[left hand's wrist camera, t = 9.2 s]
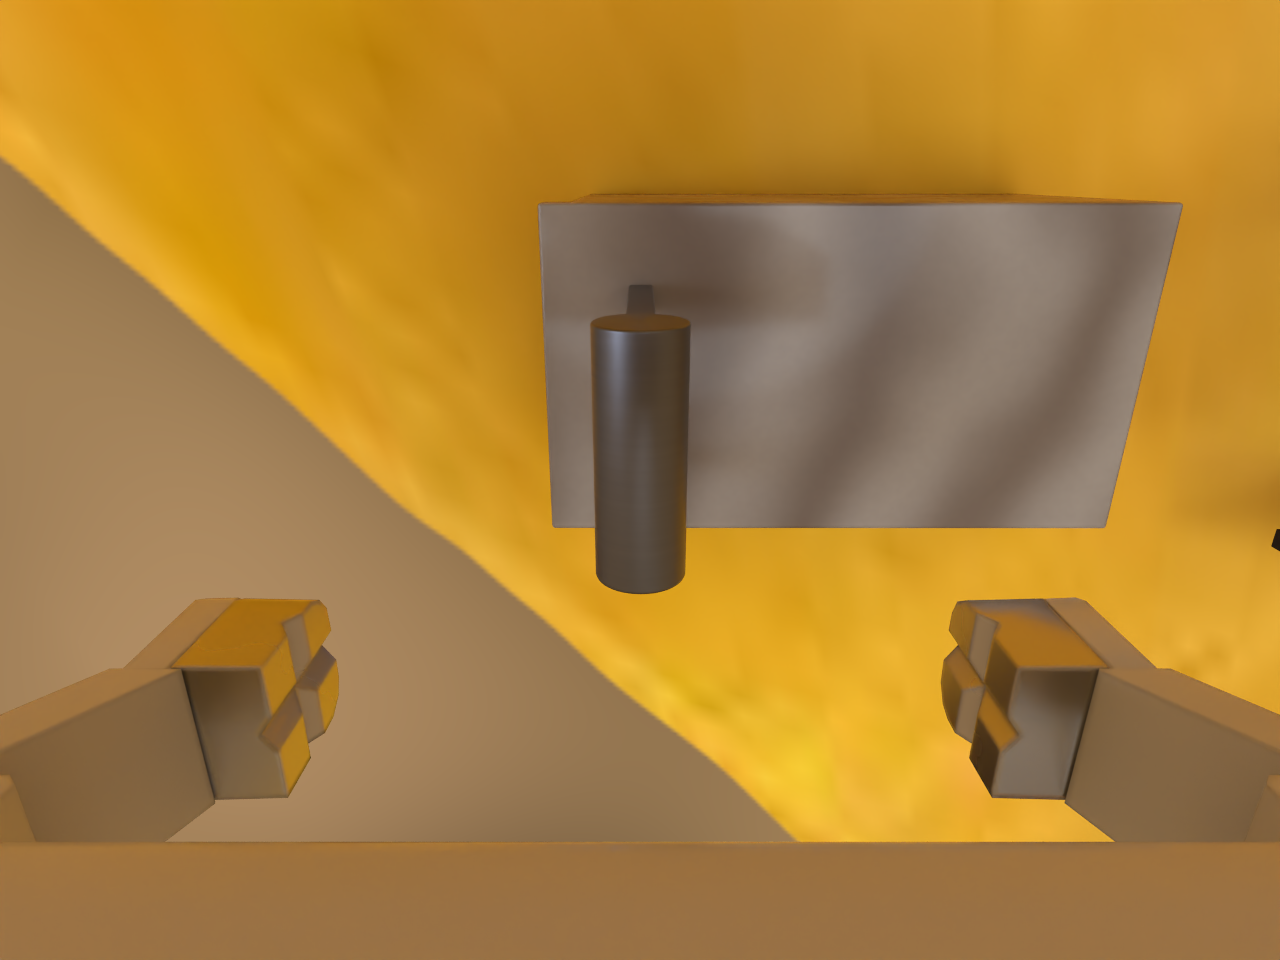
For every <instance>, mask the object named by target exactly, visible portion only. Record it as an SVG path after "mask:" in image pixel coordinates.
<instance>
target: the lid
mask: <svg viewBox="0 0 1280 960" xmlns="http://www.w3.org/2000/svg"><path fill="white" fill-rule="evenodd" d="M1182 207H1183V205H1182V204H1181V203H1177V202H542V203H540V204H538V222H539V244H540V266H541V287H542V309H543V331H544V353H545V375H546V396H547V418H548V440H549V462H550V483H551V505H552V525H553V527H555V528H595V548H596V575H597V577H598V579H599V580H600V581H601V583H603V584H604V585H605V586H607V587H609V588H611V589H613V590H616V591H620V592H624V593H631V594H650V593H657V592H661V591H665V590H668V589H670V588H672V587H674V586H676V585H677V584H679V583H680V582H681V581H682V579H683V577H684V575H685V555H686V528H1105V526H1106V523H1107V518H1108V514H1109V510H1110V506H1111V502H1112V498H1113V494H1114V489H1115V485H1116V481H1117V477H1118V473H1119V469H1120V464H1121V460H1122V456H1123V452H1124V448H1125V444H1126V440H1127V435H1128V431H1129V427H1130V423H1131V419H1132V415H1133V411H1134V406H1135V402H1136V398H1137V394H1138V390H1139V386H1140V381H1141V377H1142V373H1143V369H1144V365H1145V361H1146V357H1147V352H1148V348H1149V344H1150V340H1151V336H1152V332H1153V328H1154V323H1155V319H1156V315H1157V311H1158V307H1159V303H1160V298H1161V294H1162V290H1163V286H1164V282H1165V278H1166V274H1167V269H1168V265H1169V261H1170V257H1171V253H1172V249H1173V244H1174V240H1175V236H1176V232H1177V228H1178V224H1179V220H1180V215H1181V211H1182Z"/></svg>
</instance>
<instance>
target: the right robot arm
mask: <svg viewBox="0 0 1280 960" xmlns="http://www.w3.org/2000/svg"><path fill="white" fill-rule="evenodd" d="M1272 547H1273V548H1275V549H1277V550H1279V551H1280V529H1277V530H1276V533H1275V536H1274V539H1273V543H1272Z"/></svg>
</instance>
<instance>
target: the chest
mask: <svg viewBox="0 0 1280 960" xmlns="http://www.w3.org/2000/svg"><path fill="white" fill-rule="evenodd" d="M572 202H1157V201H1140V200H1121V199H1101V198H1082V197H1063V196H1044V195H1024V194H591V195H588V196H585V197H583V198H580V199H577V200H575V201H572Z"/></svg>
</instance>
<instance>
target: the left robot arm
mask: <svg viewBox="0 0 1280 960" xmlns="http://www.w3.org/2000/svg"><path fill="white" fill-rule="evenodd" d="M330 631H331V627H330V622H329V618H328V613H327V608H326V607H325V606H324V605H323V604H322V602H321V601H320V600H295V599H240V598H209V599H199V600H195V601H194V602H193V603H192V604H191V605H190V606H189V607H188V608H186V609H185V610H184V611H183V612H182V613H181V614H180V615H179V616H178V617H177V618H176V619H175V620H174V621H173V622H172V623H171V624H170V625H168V626H167V627H166V628H165V629H164V630H163V631H162V632H161V633H160V634H159V635H158V636H157V637H156V638H155V639H154V640H153V641H152V642H150V643H149V644H148V645H147V646H146V647H145V648H144V649H143V650H142V651H141V652H140V653H139V654H138V655H137V656H136V657H135V658H133V659H132V660H131V661H130V662H129V663H128V664H127V665H126V666H125V667H124V668H123V669H108V670H106V671H103V672H101V673H98V674H96V675H94V676H91V677H89V678H86V679H84V680H82V681H79V682H77V683H75V684H72V685H70V686H67V687H65V688H63V689H60V690H58V691H56V692H53V693H51V694H48V695H46V696H44V697H41V698H39V699H37V700H34V701H32V702H29V703H27V704H25V705H22V706H20V707H18V708H15V709H13V710H11V711H8V712H6V713H3V714H1V715H0V960H1280V715H1279V714H1276V713H1274V712H1272V711H1269V710H1267V709H1265V708H1262V707H1260V706H1257V705H1255V704H1253V703H1250V702H1248V701H1246V700H1243V699H1241V698H1238V697H1236V696H1234V695H1231V694H1229V693H1227V692H1224V691H1222V690H1220V689H1217V688H1215V687H1212V686H1210V685H1208V684H1205V683H1203V682H1201V681H1198V680H1196V679H1194V678H1191V677H1189V676H1186V675H1184V674H1182V673H1179V672H1177V671H1175V670H1172V669H1157V668H1156V667H1155V666H1154V665H1153V664H1152V663H1151V662H1150V661H1149V660H1148V659H1147V658H1146V657H1144V656H1143V655H1142V654H1141V653H1140V652H1139V651H1138V650H1137V649H1136V648H1135V647H1134V646H1133V645H1132V644H1131V643H1130V642H1129V641H1128V640H1127V639H1125V638H1124V637H1123V636H1122V635H1121V634H1120V633H1119V632H1118V631H1117V630H1116V629H1115V628H1114V627H1113V626H1112V625H1111V624H1110V623H1109V622H1108V621H1106V620H1105V619H1104V618H1103V617H1102V616H1101V615H1100V614H1099V613H1098V612H1097V611H1096V610H1095V609H1094V608H1093V607H1092V606H1091V605H1090V604H1088V603H1087V602H1086V601H1084V600H1081V599H1078V598H1053V599H1009V600H968V601H959V602H957V604H956V606H955V608H954V610H953V612H952V616H951V621H950V627H949V631H950V633H951V634H952V636H953V637H954V639H955V640H956V642H957V644H958V646H957V647H956V648H955V649H954V650H953V651H952V652H951V653H950V654H949V655H948V656H947V657H946V658H945V659H944V662H943V670H942V678H941V689H942V700H943V706H944V709H945V712H946V715H947V719H948V721H949V722H950V724H951V726H952V728H953V730H954V732H955V733H956V734H958V735H959V736H961V737H962V738H964V739H966V740H967V741H969V742H970V743H972V746H971V751H970V757H969V758H970V760H971V762H972V764H973V765H974V767H975V769H976V771H977V772H978V774H979V776H980V777H981V779H982V781H983V783H984V784H985V786H986V788H987V790H988V791H989V793H990V795H991V797H992V798H1019V799H1055V800H1065V804H1067V805H1068V806H1069V807H1071V808H1072V809H1073V810H1075V811H1076V812H1077V813H1078V814H1080V815H1081V816H1082V817H1084V818H1085V819H1086V820H1088V821H1089V822H1090V823H1092V824H1093V825H1094V826H1095V827H1097V828H1098V829H1099V830H1101V831H1102V832H1103V833H1105V834H1106V835H1107V836H1109V837H1110V838H1111V839H1113V840H1114V841H1115V842H165V841H166V840H168V839H169V838H170V837H172V836H173V835H174V834H176V833H177V832H178V831H180V830H181V829H182V828H183V827H185V826H186V825H187V824H189V823H190V822H191V821H193V820H194V819H195V818H196V817H198V816H199V815H200V814H202V813H203V812H204V811H206V810H207V809H208V808H210V807H211V806H212V805H214V804H215V800H224V799H260V798H288V797H289V795H290V793H291V792H292V790H293V788H294V786H295V785H296V783H297V781H298V779H299V777H300V776H301V774H302V772H303V771H304V769H305V767H306V765H307V764H308V762H309V760H310V758H311V757H310V751H309V746H308V743H310V742H311V741H313V740H314V739H316V738H318V737H319V736H321V735H322V734H324V733H325V732H326V730H327V728H328V726H329V724H330V722H331V720H332V718H333V716H334V712H335V708H336V704H337V699H338V695H339V675H338V668H337V662H336V659H335V658H334V657H333V656H332V655H331V654H330V653H329V652H328V651H327V650H326V649H325V648H324V647H323V646H322V644H323V642H324V640H325V639H326V637H327V636H328V634H329V633H330Z"/></svg>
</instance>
